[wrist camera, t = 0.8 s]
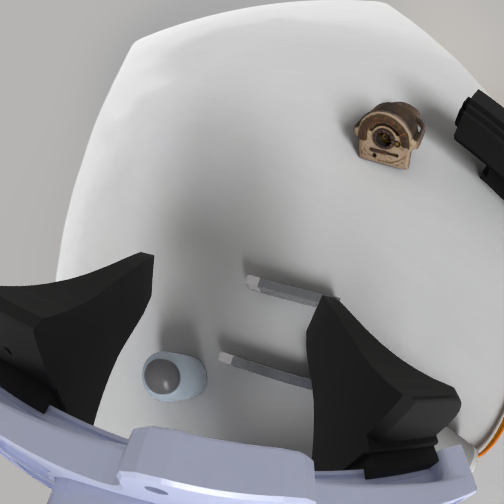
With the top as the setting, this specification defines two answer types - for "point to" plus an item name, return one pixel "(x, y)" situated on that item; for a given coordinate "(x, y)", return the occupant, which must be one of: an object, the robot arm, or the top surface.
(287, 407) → the top surface
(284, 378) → the clip cradle
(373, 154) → the mechanical counter
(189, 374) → the light grey cylinder
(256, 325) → the top surface
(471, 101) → the security camera
